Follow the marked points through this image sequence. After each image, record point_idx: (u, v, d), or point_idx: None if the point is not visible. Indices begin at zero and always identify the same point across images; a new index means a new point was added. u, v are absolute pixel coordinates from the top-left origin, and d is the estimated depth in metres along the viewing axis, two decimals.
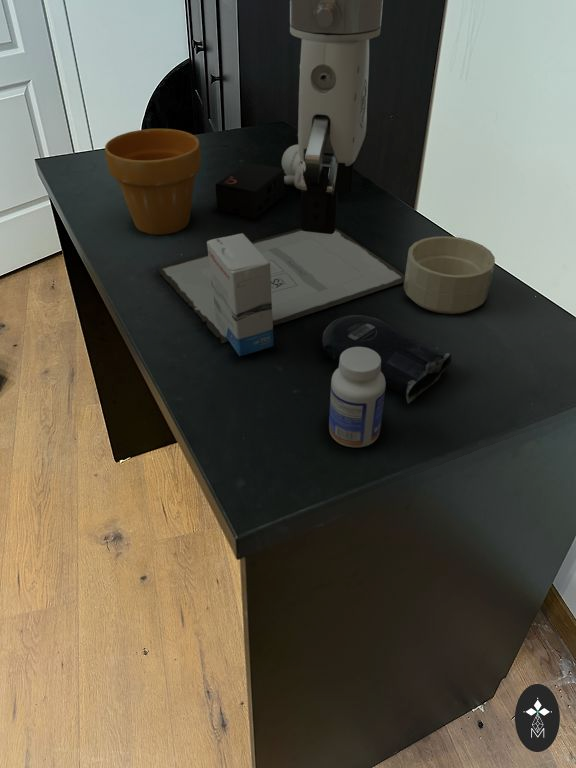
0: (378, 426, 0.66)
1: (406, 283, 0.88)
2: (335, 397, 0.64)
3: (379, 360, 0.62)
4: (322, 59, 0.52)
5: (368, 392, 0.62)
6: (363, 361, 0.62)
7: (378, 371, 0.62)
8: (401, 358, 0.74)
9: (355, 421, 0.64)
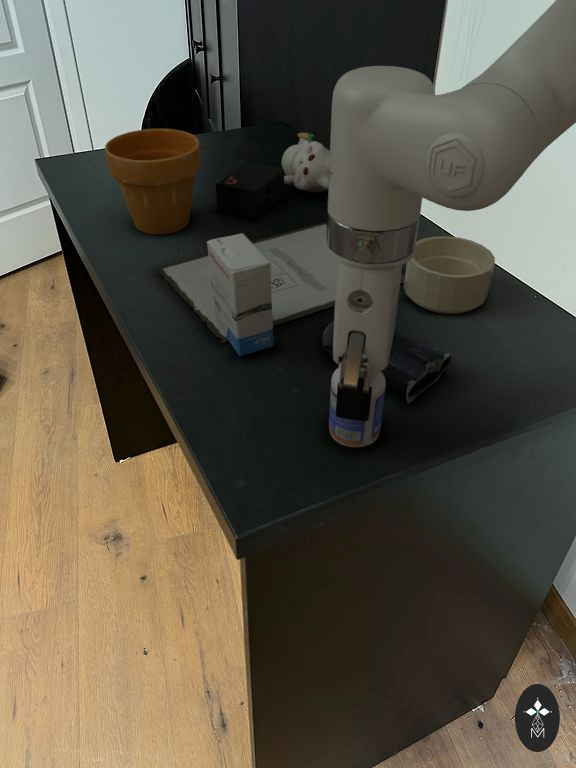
0: (378, 426, 0.66)
1: (406, 283, 0.88)
2: (335, 397, 0.64)
3: None
4: (359, 285, 0.53)
5: None
6: None
7: (378, 371, 0.62)
8: (401, 358, 0.74)
9: (355, 421, 0.64)
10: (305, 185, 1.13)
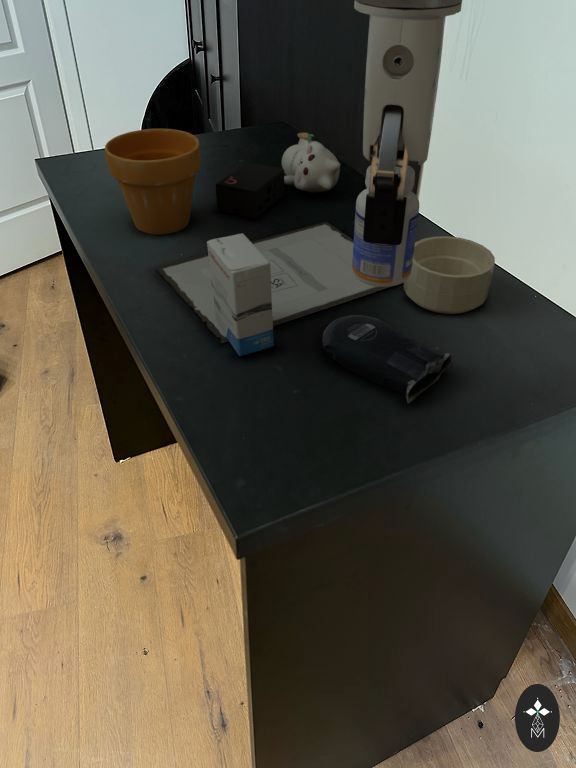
0: (410, 260, 0.57)
1: (406, 283, 0.88)
2: (361, 220, 0.55)
3: (413, 171, 0.54)
4: (398, 39, 0.44)
5: None
6: None
7: (412, 183, 0.53)
8: (401, 358, 0.74)
9: (385, 249, 0.55)
10: (305, 185, 1.13)
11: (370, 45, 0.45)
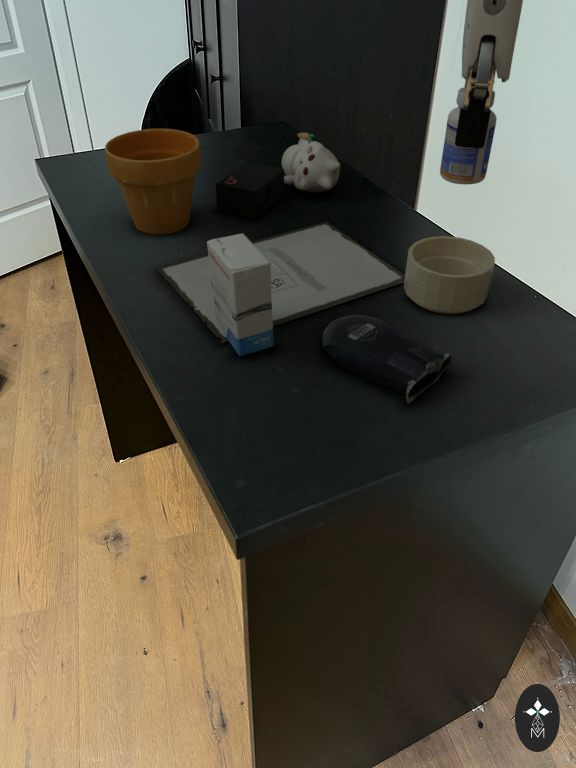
0: (487, 164, 0.76)
1: (406, 283, 0.88)
2: (453, 130, 0.73)
3: (493, 92, 0.72)
4: None
5: None
6: None
7: (493, 101, 0.72)
8: (401, 358, 0.74)
9: (469, 152, 0.74)
10: (305, 185, 1.13)
11: None
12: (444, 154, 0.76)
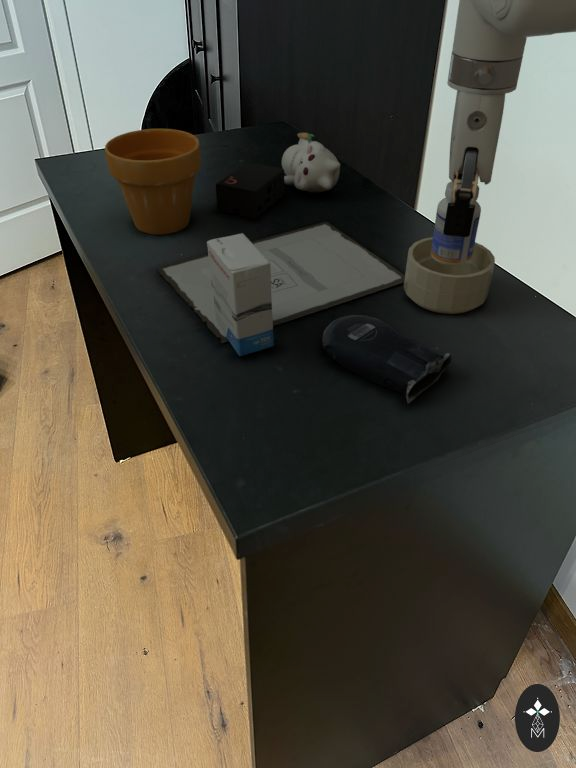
0: (472, 247, 0.84)
1: (406, 283, 0.88)
2: (441, 219, 0.82)
3: (478, 187, 0.80)
4: (478, 107, 0.70)
5: None
6: None
7: (477, 195, 0.80)
8: (401, 358, 0.74)
9: (456, 239, 0.82)
10: (305, 185, 1.13)
11: (459, 110, 0.71)
12: (434, 238, 0.84)
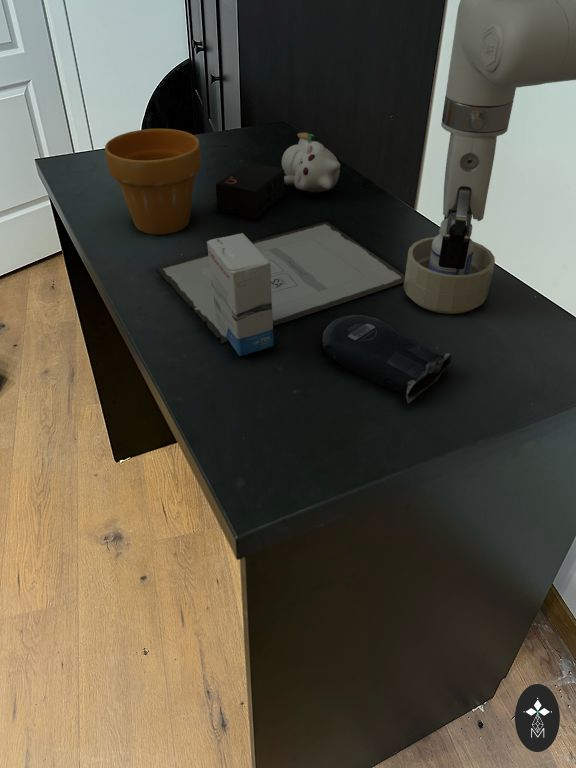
0: None
1: (406, 283, 0.88)
2: (436, 256, 0.85)
3: (471, 225, 0.83)
4: (470, 149, 0.73)
5: None
6: None
7: (470, 233, 0.83)
8: (401, 358, 0.74)
9: None
10: (305, 185, 1.13)
11: (452, 151, 0.74)
12: None
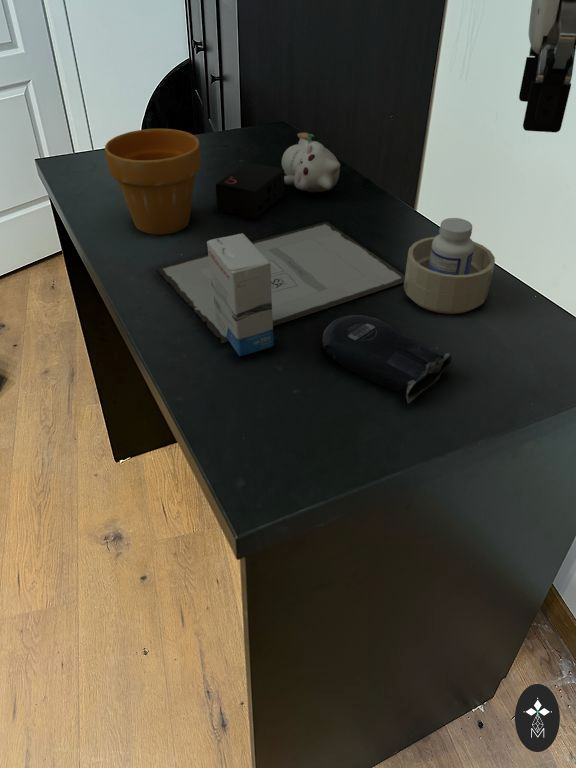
0: None
1: (406, 283, 0.88)
2: (436, 256, 0.85)
3: (471, 225, 0.83)
4: None
5: (463, 249, 0.83)
6: (459, 226, 0.83)
7: (470, 233, 0.83)
8: (401, 358, 0.74)
9: None
10: (305, 185, 1.13)
11: None
12: None
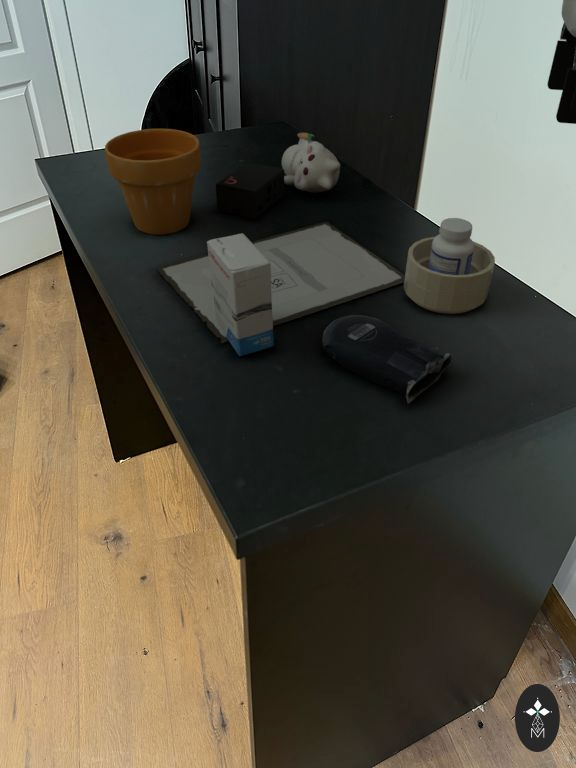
0: None
1: (406, 283, 0.88)
2: (436, 256, 0.85)
3: (471, 225, 0.83)
4: None
5: (463, 249, 0.83)
6: (459, 226, 0.83)
7: (470, 233, 0.83)
8: (401, 358, 0.74)
9: None
10: (305, 185, 1.13)
11: None
12: None
